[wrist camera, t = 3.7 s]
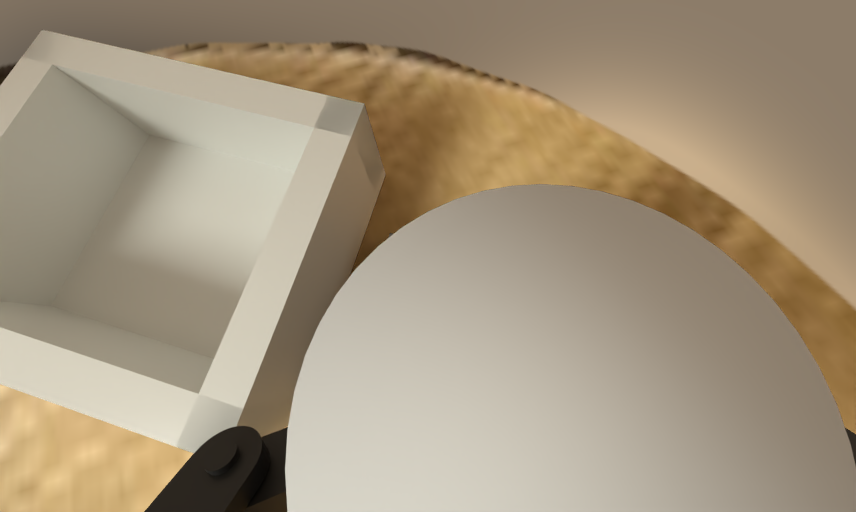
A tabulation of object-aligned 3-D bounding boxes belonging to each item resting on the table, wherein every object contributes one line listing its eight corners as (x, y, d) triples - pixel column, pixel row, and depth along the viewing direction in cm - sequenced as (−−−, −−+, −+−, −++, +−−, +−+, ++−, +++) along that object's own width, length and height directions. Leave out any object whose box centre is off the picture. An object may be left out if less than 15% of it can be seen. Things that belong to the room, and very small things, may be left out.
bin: (25, 328, 17) (-175, 321, 11) (150, 115, 20) (41, 29, 15) (298, 420, 16) (222, 462, 10) (385, 174, 19) (364, 103, 13)
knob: (391, 402, 14) (188, 677, 3) (423, 293, 16) (384, 139, 4) (503, 437, 14) (885, 976, 2) (526, 323, 15) (852, 251, 3)
